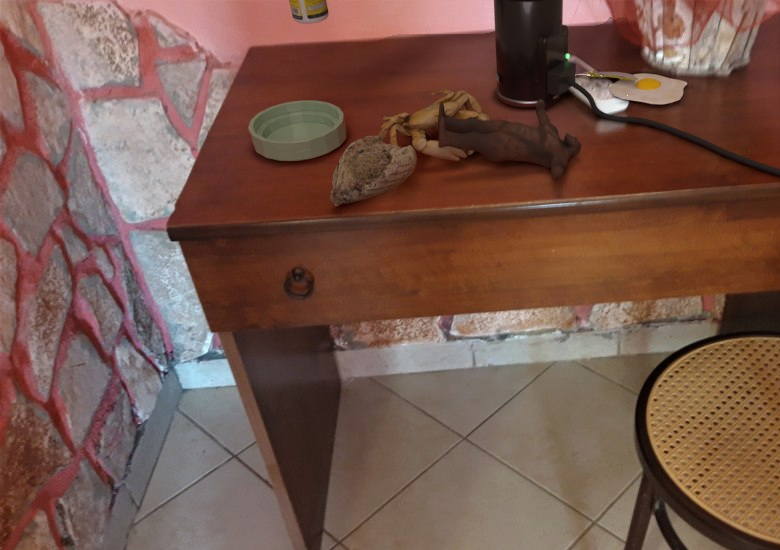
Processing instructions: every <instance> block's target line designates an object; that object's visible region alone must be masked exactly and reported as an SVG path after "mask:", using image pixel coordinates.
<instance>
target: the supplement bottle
mask: <svg viewBox="0 0 780 550" xmlns="http://www.w3.org/2000/svg"><path fill="white" fill-rule="evenodd" d="M288 2H289V6H290V10H291V11H290V12H291V16H292V19H293V20H294V22H296V23H298V24H305V25H306V24H317V23H321V22H323V21H325V20H327V18H328V17H329V8H328V3H327V0H288Z"/></svg>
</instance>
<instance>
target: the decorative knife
mask: <svg viewBox="0 0 780 550" xmlns="http://www.w3.org/2000/svg"><path fill="white" fill-rule="evenodd" d="M583 73H584V72H583ZM587 73H588V74H590V75H591V77H593V78H592V79H594V78H601V79H604V78H614V79H618V80H621V79H626V80H631V81H634V82H636V80H638V78H636V77H635V76H634V74H631V73H628V72H621V71H597V70H595V69H593V70H592V71H590V70H588V71H587V72H585V73H584V74H587ZM601 74H602V75H603V76H604V77H601V76H600V75H601ZM592 75H593V76H592Z"/></svg>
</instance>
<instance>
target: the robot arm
mask: <svg viewBox="0 0 780 550" xmlns="http://www.w3.org/2000/svg"><path fill="white" fill-rule="evenodd" d="M493 14H494V15H493V16H494V17H493V18H494V39H495V40H494V41H495V43H494V44H495V65H496V66H495V67H496V68H495V67H493V71H494V72H493V73H494V77H495V79H496V96H497V99H498V100H499V101H500V102H501V103H503V104H505V105H507V106H510V107H514V108H521V109H533V108H535V109H536V106H537V102H538V100H540V99H542V100H543V101H544V103H545V104H546V107H545V110H546V109H548V108H549V107H550V106H552V105H553V104H555V103H556V102H558V101H559V100H560V99H561V98H563V97H564V96H566V95H567V94H568V90H569V89H570V88H573V89H575V90H576V91H578V92H580V93H581V94H582V95H583V96H584V97H585V98H586V100H587V101H588V103H589V105H590V108H591V110H592V112H593V113H594V114H595V115H597V116H599V117H600V118H601V119H604V120H607V121H612V122H617V123H625V124H626V123H628V124H641V125H646V126H649V127H652V128H656V129H659V130H661V131H665V132H667V133H670V134H673V135H676V136H678V137H681V138H682V139H686V140H688V141H690V142H693V143H696V144H698V145H700V146H702V147H705V148H707V149H708V150H710V151H712V152H715V153H717V154H719V155H722V156H724V157H726V158H728V159H731V160H734V161H737V162H739V163H741V164H745V165H746V166H750V167H752V168H754V169H757V170H760V171H764V172H766V173H768V174H769V173H770V174H772V175H776V176H779V177H780V168H777V167H774V166H771V165H769V164H765V163H762V162H759V161H756V160H753V159H751V158H748V157H745V156H743V155H740V154H737V153H734V152H733V151H730V150H727V149H725V148H723V147H721V146H719V145H716V144H715V143H712V142H710V141H708V140H706V139H703V138H701V137H699V136H696V135H694V134H691V133H688V132H687V131H683V130H681V129H678V128H676V127H674V126H670V125H669V124H668V125H667V124H665V123H661V122H658V121H655V120H651V119H649V118H644V117H638V116H637V117H636V116H617V115H611V114H608V113H606V112H604V111H602V110H601V109H599V108H598V106H597V104H596V101H595V98H594V97H593V96H592V93H590V92H589V91H588V90H587V89H586V88H585V87H584V86H582V85H581V84H579V83H578V82H576V76H575V74H576V73H577V72H576V70H577V68H576V67H577V63H574V62H571V61H569V59H570V54H569V33H570V32H569V30H570V29H569V26H568V25H567V24H563V22H564V21H563V18H564V0H493Z"/></svg>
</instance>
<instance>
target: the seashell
mask: <svg viewBox="0 0 780 550" xmlns="http://www.w3.org/2000/svg"><path fill="white" fill-rule="evenodd" d="M416 152H417V151H416V149H415V148H414V147H413V146H412V144H409V145H406V146H402V147H401V146H399V145H398V146H395V145H391V144H390V143H384V140H383V138H382V136H377V135H367V136H366V137H364V138H359V139H357V140H355V141H352V142H351V143H350V144H349V145H348V146H347V147H346V148H345V149H344V151H343V153H342V155H341V156H340V157H339V160H338V162H337V164H336V166H335V169H334V170H333V174H332V182H331V184H332V189H331V190H330V193H329V194H330V196H329V201H330V202H331V203H332V204H333V205H334V206H335V207H340V205H342V204H345V205H346V204H349V203H355V202H360V201H363V200H364V201H365V200H368V199H372V198H374V197H377V196H380V195H385V194H388V193H389V192H390V193H391V192H394V191H395V190H396V189H397V188H399V187H400V186H402V184H403V183H405V182H406V181H407V179H408V178H409V177H411V175H412V174H413V173H414V171H415V168H416V165H417V160H418V158H417V156H418V155H417V153H416Z"/></svg>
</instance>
